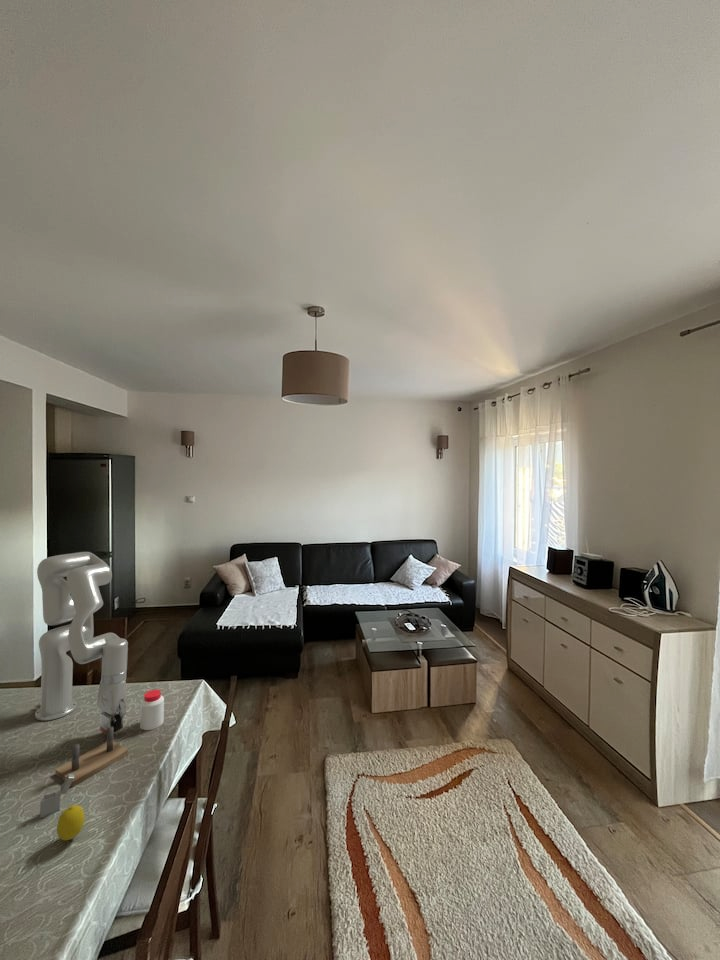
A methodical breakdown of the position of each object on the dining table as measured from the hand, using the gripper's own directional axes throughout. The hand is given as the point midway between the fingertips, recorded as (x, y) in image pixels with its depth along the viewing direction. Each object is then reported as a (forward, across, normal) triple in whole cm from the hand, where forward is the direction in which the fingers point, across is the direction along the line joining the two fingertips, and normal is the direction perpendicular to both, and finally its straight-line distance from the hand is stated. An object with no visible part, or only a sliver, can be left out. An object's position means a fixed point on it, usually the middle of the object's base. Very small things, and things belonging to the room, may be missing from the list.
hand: (111, 727), depth 138 cm
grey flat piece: (+2, +20, -25) cm, 32 cm away
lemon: (+2, +33, -28) cm, 43 cm away
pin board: (+2, +10, -11) cm, 15 cm away
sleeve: (+1, 0, 0) cm, 1 cm away
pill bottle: (+3, +6, +11) cm, 13 cm away
